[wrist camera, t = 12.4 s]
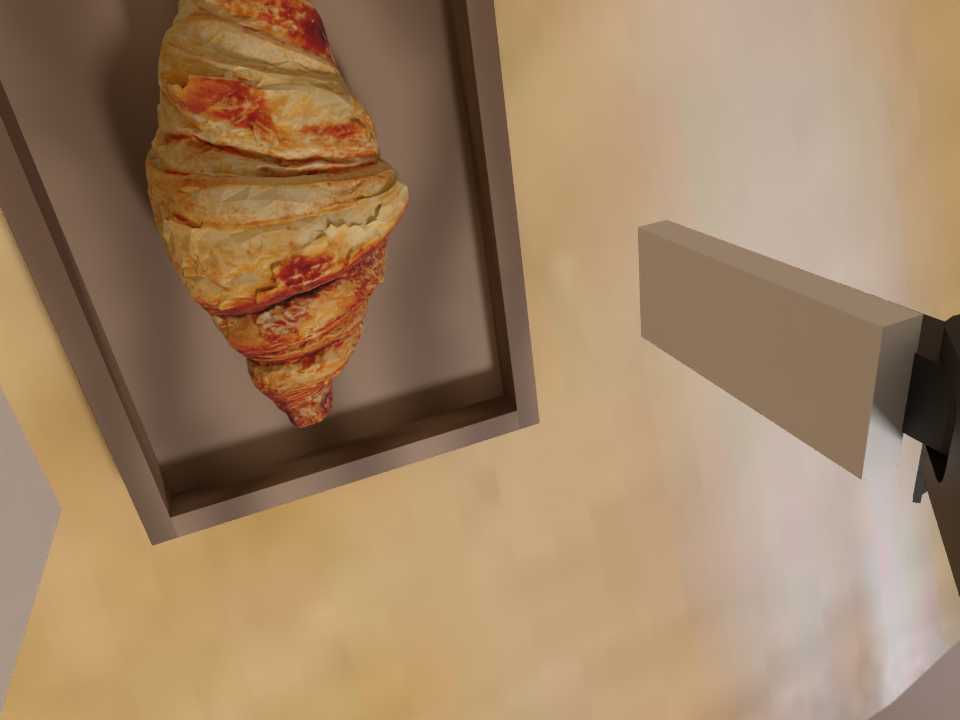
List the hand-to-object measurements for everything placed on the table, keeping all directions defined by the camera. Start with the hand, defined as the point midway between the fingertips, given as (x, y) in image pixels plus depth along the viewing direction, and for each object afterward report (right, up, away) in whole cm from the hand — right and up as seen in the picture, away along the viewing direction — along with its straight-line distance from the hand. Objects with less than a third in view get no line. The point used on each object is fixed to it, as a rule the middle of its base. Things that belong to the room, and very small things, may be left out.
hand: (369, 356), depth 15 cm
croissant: (-7, +8, +17) cm, 20 cm away
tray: (-7, +8, +17) cm, 20 cm away
